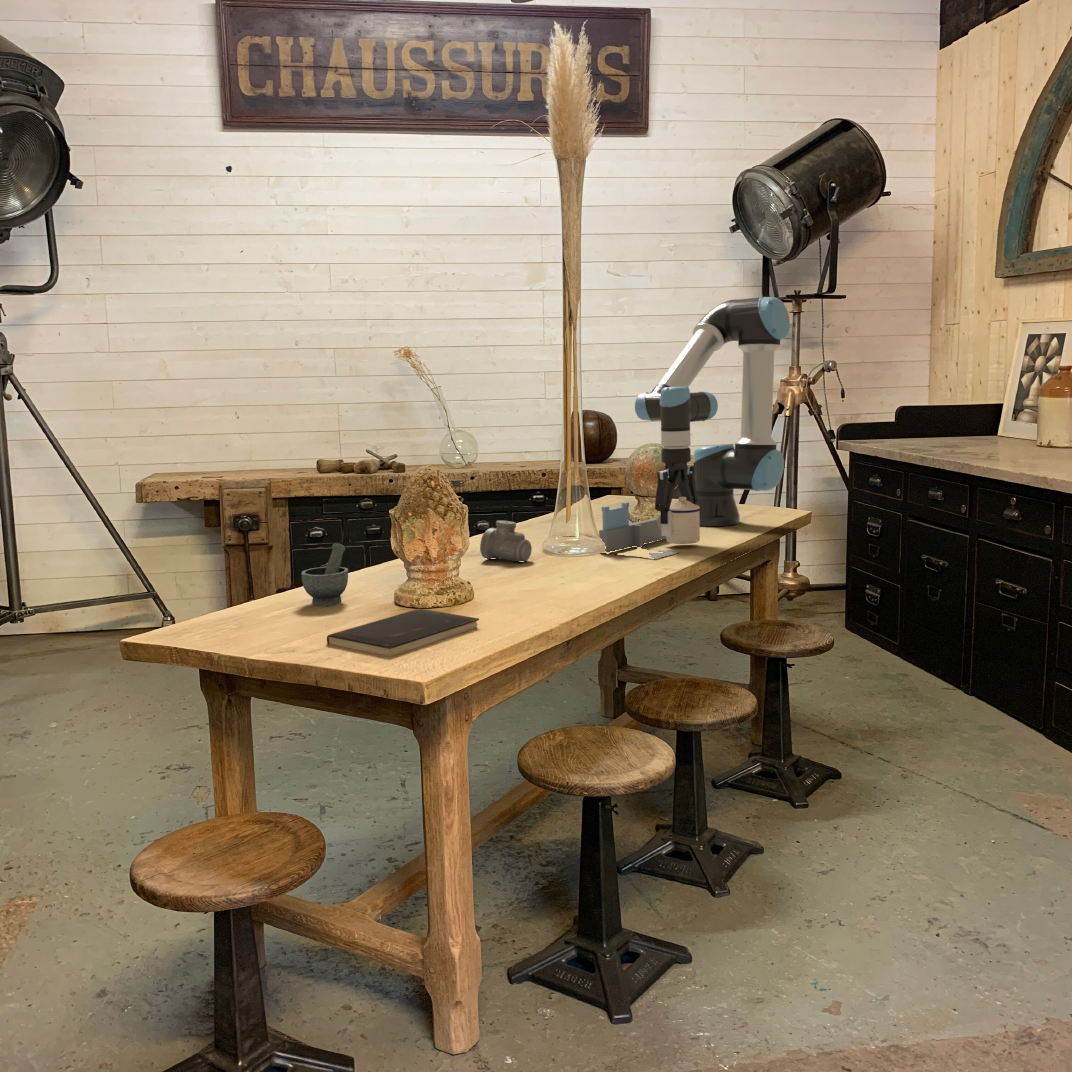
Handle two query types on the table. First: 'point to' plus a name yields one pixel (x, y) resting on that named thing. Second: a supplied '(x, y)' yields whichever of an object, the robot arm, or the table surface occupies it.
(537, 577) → the table surface
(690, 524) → the teacup with lid
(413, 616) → the hardcover book
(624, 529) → the bay rack
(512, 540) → the pipe fitting
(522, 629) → the table surface
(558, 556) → the table surface
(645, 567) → the table surface
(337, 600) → the mortar and pestle
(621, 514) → the blue bezel
